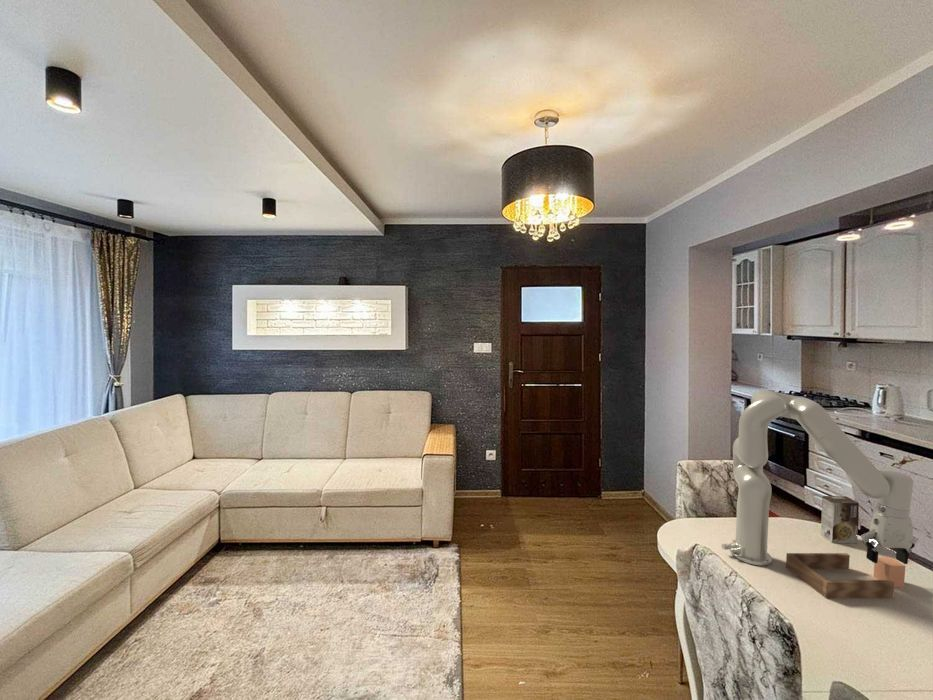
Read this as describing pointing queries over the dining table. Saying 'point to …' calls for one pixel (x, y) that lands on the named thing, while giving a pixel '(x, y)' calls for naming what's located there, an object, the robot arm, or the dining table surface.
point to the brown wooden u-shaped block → (835, 588)
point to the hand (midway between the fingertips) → (886, 561)
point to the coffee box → (839, 519)
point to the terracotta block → (889, 571)
